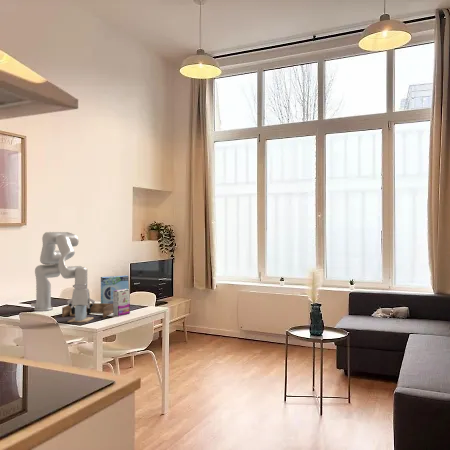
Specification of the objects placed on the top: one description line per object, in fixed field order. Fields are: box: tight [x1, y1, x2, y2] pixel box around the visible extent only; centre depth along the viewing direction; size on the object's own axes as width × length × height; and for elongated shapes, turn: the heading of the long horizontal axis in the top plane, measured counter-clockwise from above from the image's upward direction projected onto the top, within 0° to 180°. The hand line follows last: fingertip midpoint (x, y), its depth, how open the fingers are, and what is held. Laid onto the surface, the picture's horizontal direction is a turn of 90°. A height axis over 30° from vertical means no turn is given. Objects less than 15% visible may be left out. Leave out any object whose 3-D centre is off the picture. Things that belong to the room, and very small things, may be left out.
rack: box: [61, 302, 113, 318], centre depth 308 cm, size 28×18×6 cm, turn 86°
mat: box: [67, 316, 94, 323], centre depth 290 cm, size 12×13×1 cm
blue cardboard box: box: [100, 274, 129, 304], centre depth 333 cm, size 20×5×23 cm, turn 123°
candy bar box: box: [112, 288, 131, 317], centre depth 308 cm, size 11×5×16 cm, turn 148°
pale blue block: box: [74, 305, 87, 321], centre depth 290 cm, size 4×10×9 cm, turn 176°
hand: (80, 314), depth 290 cm, fingers open, 9 cm apart
